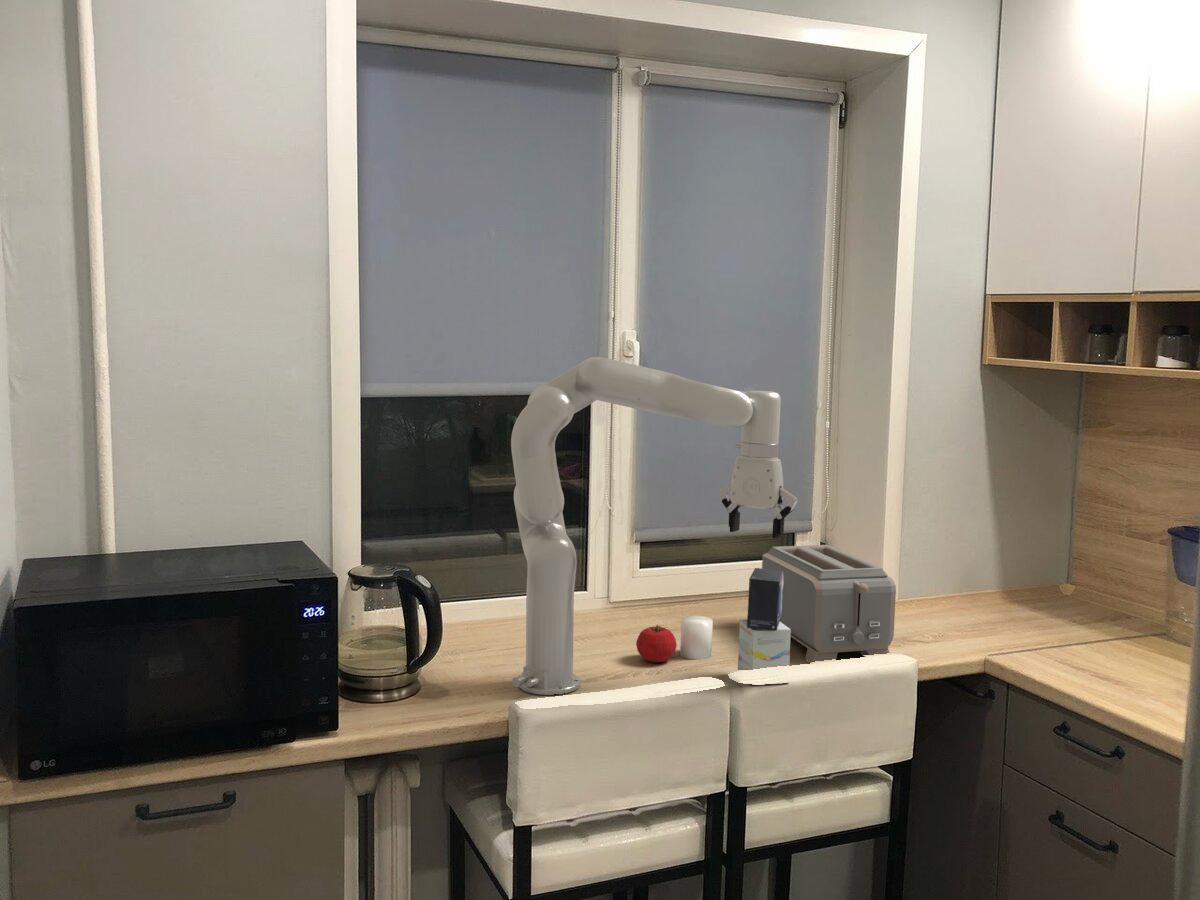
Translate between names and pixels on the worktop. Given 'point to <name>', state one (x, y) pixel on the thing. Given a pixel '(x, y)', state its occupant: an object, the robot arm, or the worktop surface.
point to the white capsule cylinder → (696, 637)
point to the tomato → (656, 644)
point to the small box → (765, 599)
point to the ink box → (763, 647)
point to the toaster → (834, 600)
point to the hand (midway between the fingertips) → (755, 534)
